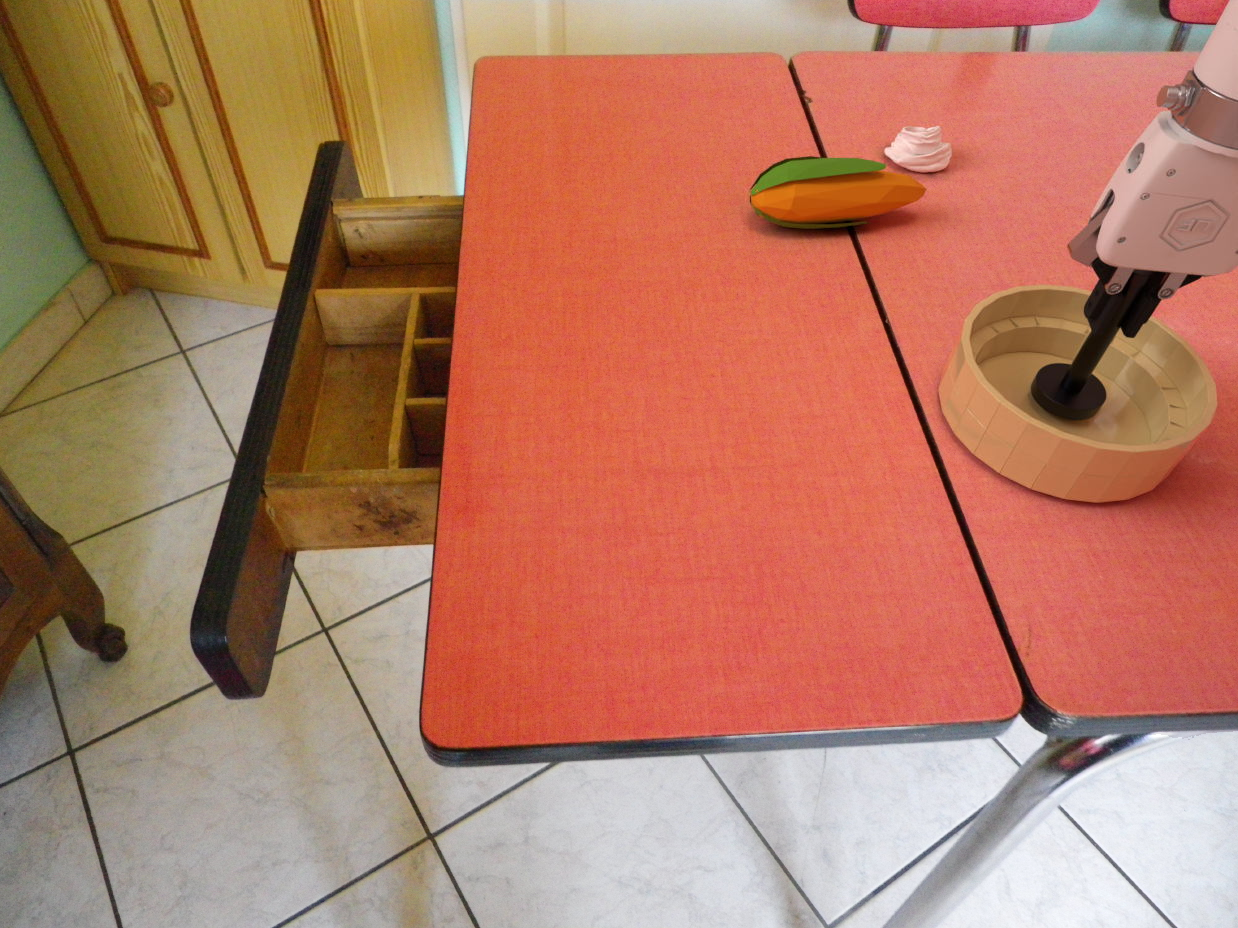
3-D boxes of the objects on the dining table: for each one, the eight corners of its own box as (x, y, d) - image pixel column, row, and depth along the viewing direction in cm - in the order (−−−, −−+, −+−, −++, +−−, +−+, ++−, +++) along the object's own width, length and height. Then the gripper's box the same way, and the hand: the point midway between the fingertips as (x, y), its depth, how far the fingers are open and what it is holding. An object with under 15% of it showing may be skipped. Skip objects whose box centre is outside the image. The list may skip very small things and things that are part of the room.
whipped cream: (889, 181, 104) (899, 147, 100) (873, 148, 107) (882, 113, 103) (953, 175, 104) (965, 140, 100) (935, 142, 108) (946, 107, 104)
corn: (748, 143, 92) (924, 135, 94) (737, 202, 98) (903, 194, 100) (763, 185, 87) (948, 176, 89) (751, 244, 94) (924, 234, 96)
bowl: (1196, 404, 79) (1240, 347, 73) (1136, 547, 68) (1183, 493, 63) (985, 314, 86) (1011, 257, 81) (900, 431, 75) (924, 373, 70)
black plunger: (1108, 393, 77) (1191, 265, 66) (1087, 431, 74) (1172, 303, 63) (1042, 364, 79) (1113, 237, 69) (1020, 400, 76) (1091, 272, 65)
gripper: (1131, 128, 54) (1019, 346, 68) (1389, 150, 53) (1222, 366, 67) (1101, 74, 59) (1002, 288, 73) (1338, 93, 58) (1192, 306, 72)
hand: (1109, 324), depth 70 cm, fingers closed on black plunger
